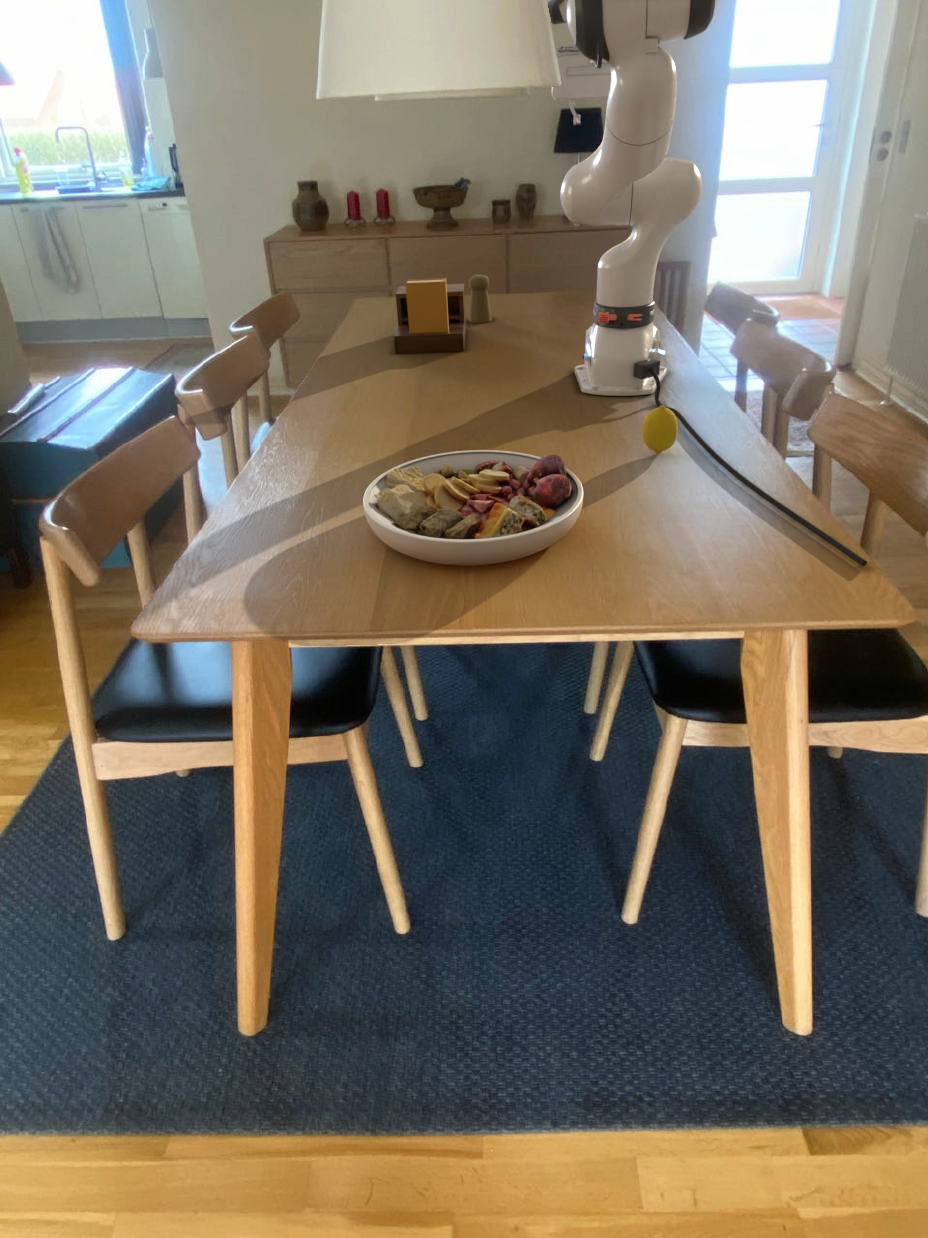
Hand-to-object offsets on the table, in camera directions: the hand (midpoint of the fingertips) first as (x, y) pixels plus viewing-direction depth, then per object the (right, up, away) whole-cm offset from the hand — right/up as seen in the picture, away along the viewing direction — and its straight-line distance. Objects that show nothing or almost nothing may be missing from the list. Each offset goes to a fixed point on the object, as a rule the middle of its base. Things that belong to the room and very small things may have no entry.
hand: (599, 123), depth 172 cm
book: (-37, -36, +20) cm, 55 cm away
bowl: (-27, -90, -57) cm, 110 cm away
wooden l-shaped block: (-36, -36, +27) cm, 58 cm away
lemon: (+3, -77, -38) cm, 86 cm away
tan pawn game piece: (-24, -26, +43) cm, 56 cm away
